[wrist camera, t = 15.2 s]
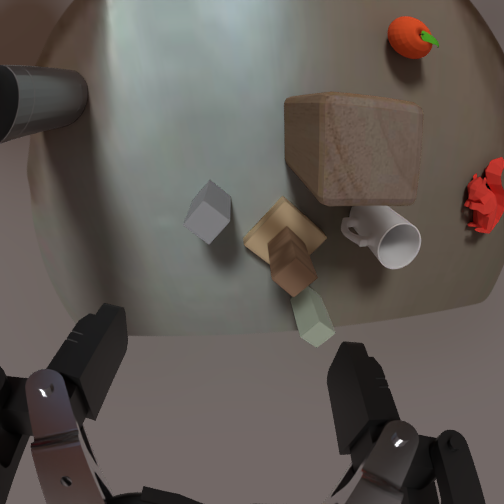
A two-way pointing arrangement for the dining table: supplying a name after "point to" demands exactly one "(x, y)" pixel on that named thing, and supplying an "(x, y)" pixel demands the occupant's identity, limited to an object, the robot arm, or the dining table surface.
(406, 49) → the clementine
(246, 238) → the oak slab
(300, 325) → the sage post
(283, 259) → the walnut post
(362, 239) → the mug
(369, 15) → the dining table surface
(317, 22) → the dining table surface
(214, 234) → the grey post
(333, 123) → the wooden block
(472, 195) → the animal figurine
